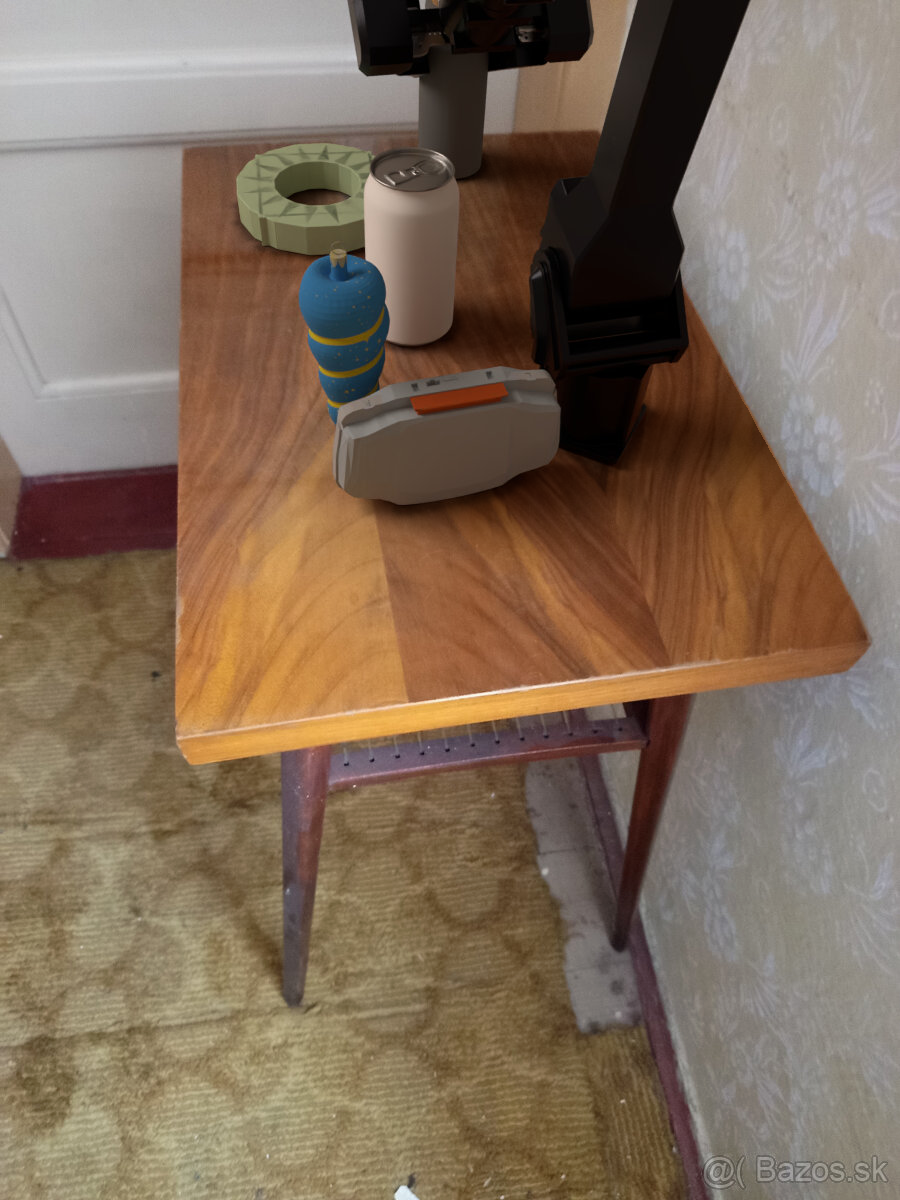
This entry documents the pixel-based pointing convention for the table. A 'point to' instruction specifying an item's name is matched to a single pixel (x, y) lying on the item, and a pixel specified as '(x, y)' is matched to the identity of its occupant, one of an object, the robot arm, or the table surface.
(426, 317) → the can
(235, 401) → the table surface
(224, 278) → the table surface
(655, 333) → the robot arm
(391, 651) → the table surface
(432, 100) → the bottle
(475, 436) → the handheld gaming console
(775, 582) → the table surface
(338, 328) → the ornament
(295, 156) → the holder
